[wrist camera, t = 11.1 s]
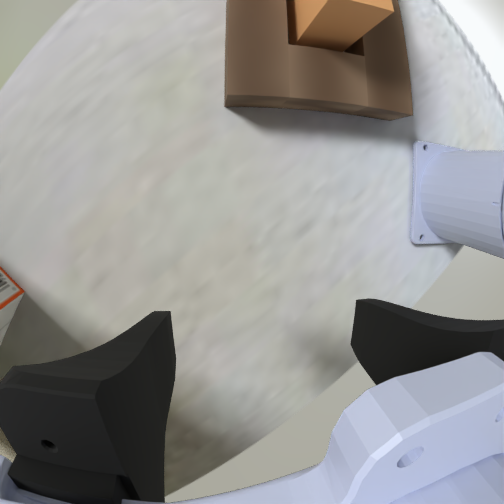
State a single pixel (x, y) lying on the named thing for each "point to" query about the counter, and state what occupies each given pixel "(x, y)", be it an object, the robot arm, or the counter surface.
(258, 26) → the keyed socket
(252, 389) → the counter surface
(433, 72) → the counter surface
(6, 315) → the cereal box
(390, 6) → the keyed peg
